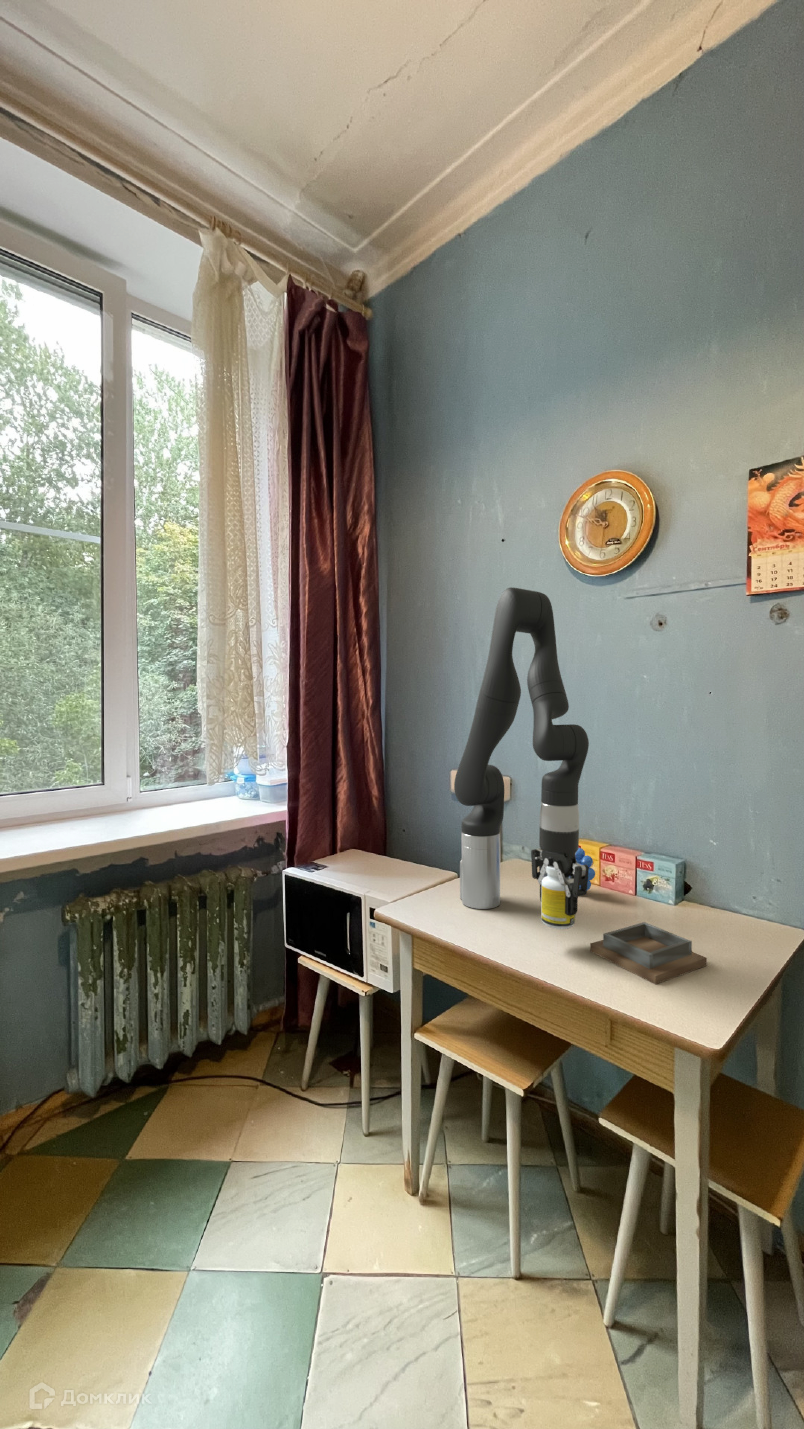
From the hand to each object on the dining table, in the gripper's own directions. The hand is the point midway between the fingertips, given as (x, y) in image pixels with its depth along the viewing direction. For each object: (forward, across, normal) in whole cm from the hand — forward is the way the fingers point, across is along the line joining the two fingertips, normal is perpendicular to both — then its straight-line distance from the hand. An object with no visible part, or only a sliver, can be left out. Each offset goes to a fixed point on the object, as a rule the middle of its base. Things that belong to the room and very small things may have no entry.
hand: (557, 908), depth 117 cm
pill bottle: (+3, 0, 0) cm, 3 cm away
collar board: (+8, -12, -12) cm, 18 cm away
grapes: (+8, +21, -26) cm, 34 cm away
